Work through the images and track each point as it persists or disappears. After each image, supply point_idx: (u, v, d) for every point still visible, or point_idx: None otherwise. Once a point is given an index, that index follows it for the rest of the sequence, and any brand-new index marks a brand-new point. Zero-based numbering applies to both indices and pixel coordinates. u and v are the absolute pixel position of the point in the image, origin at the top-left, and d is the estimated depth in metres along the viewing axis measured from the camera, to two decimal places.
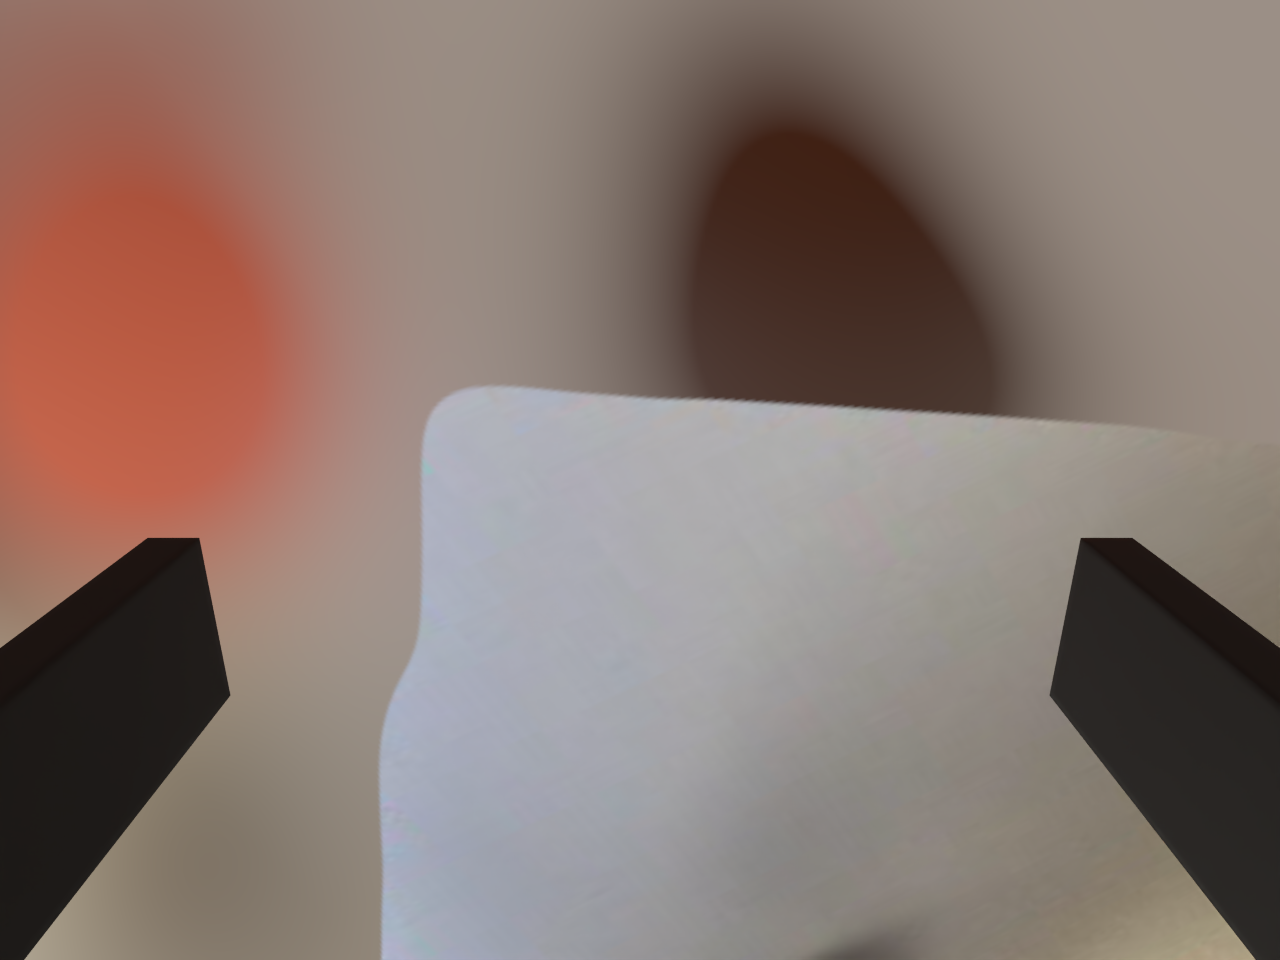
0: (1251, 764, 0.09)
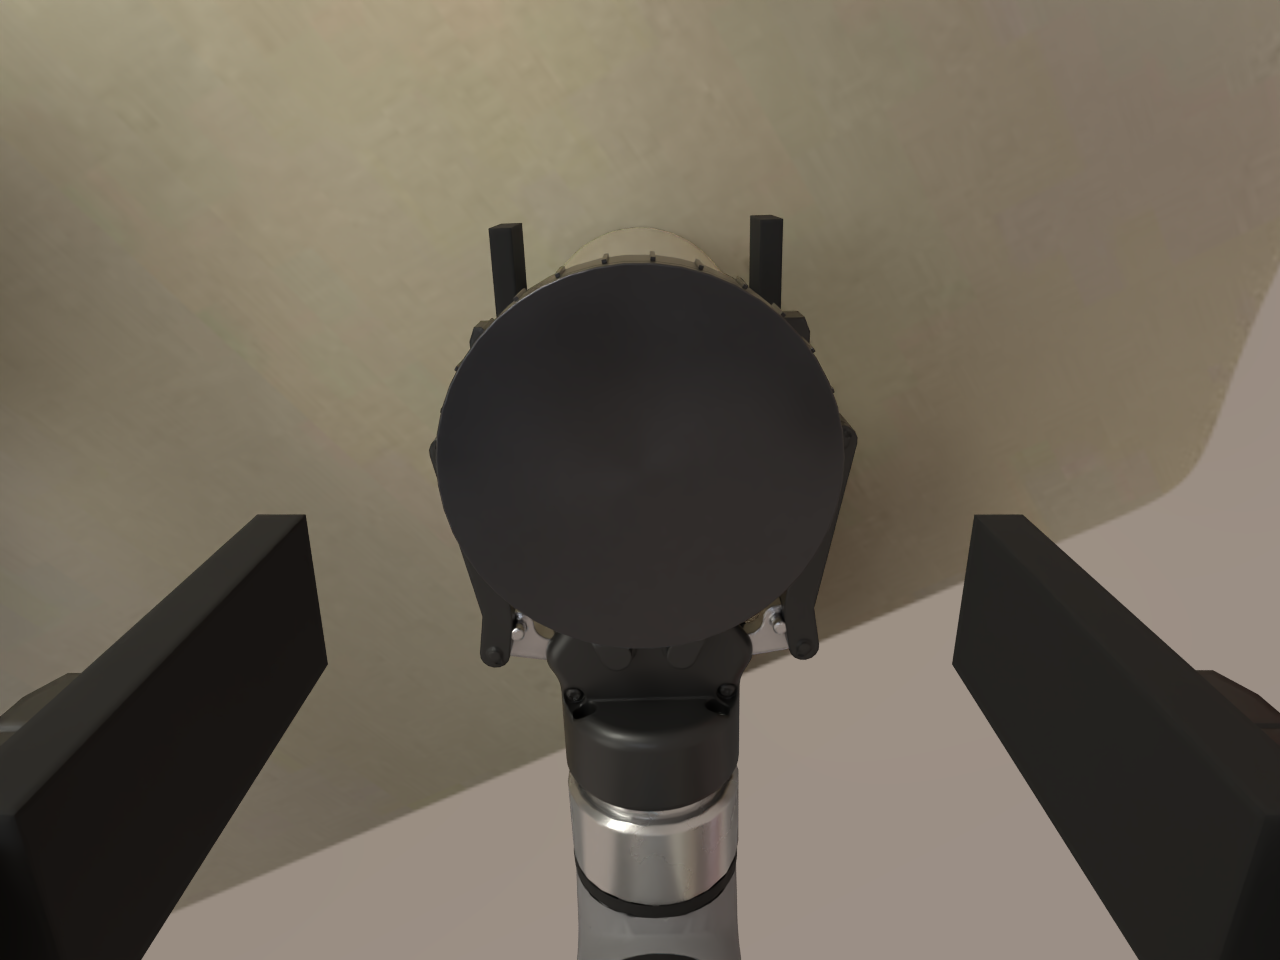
0: (1092, 713, 0.10)
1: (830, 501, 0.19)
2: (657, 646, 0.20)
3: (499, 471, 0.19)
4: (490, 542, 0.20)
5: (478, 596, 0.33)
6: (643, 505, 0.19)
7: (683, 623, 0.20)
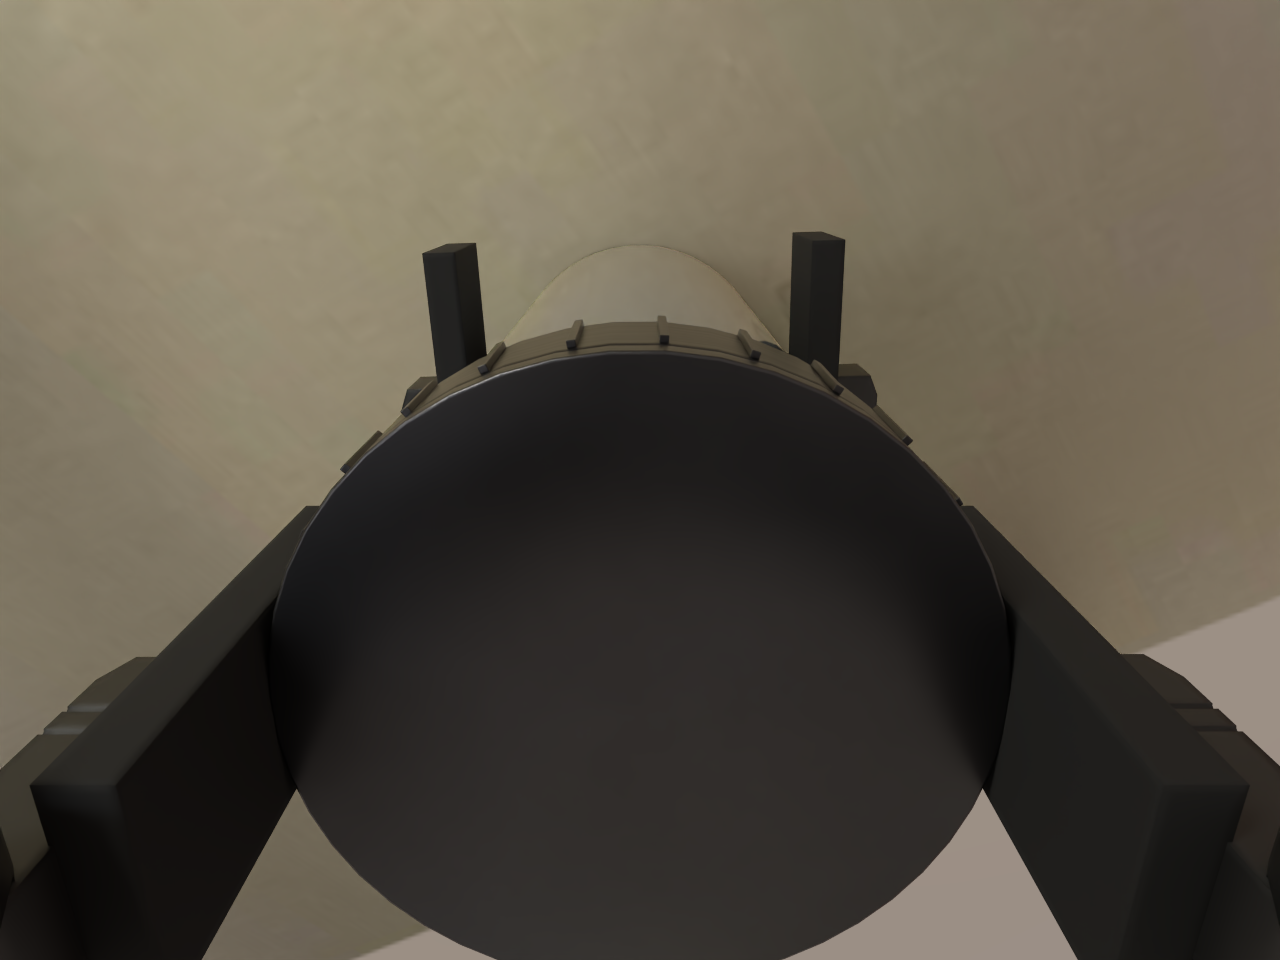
0: (1023, 695, 0.10)
1: (980, 762, 0.11)
2: None
3: (385, 715, 0.10)
4: (375, 826, 0.11)
5: None
6: (645, 768, 0.11)
7: (714, 947, 0.12)
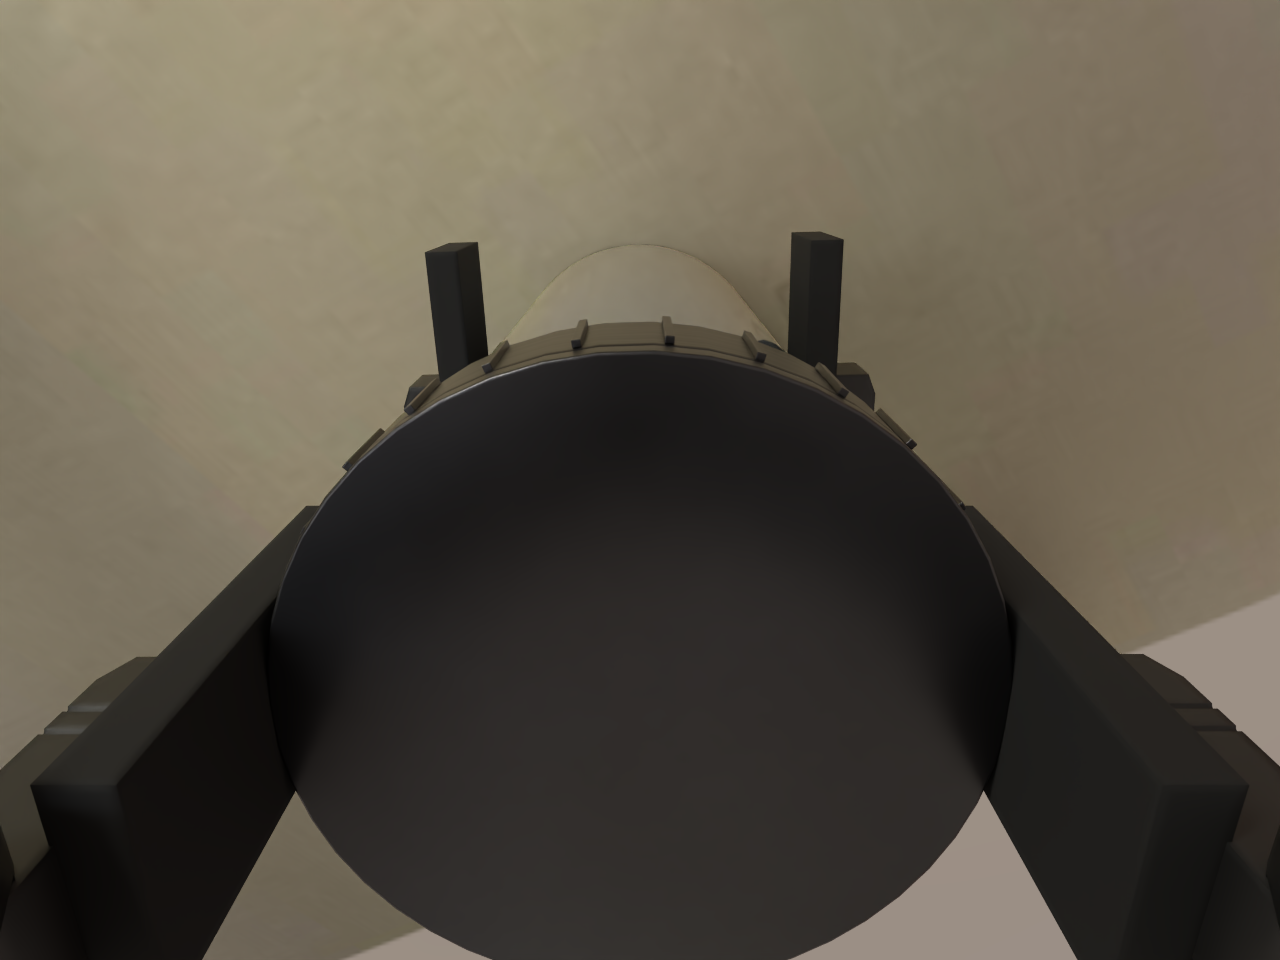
0: (1023, 694, 0.10)
1: (798, 400, 0.09)
2: (993, 760, 0.11)
3: (584, 906, 0.12)
4: (702, 944, 0.12)
5: None
6: (704, 724, 0.10)
7: (963, 709, 0.10)
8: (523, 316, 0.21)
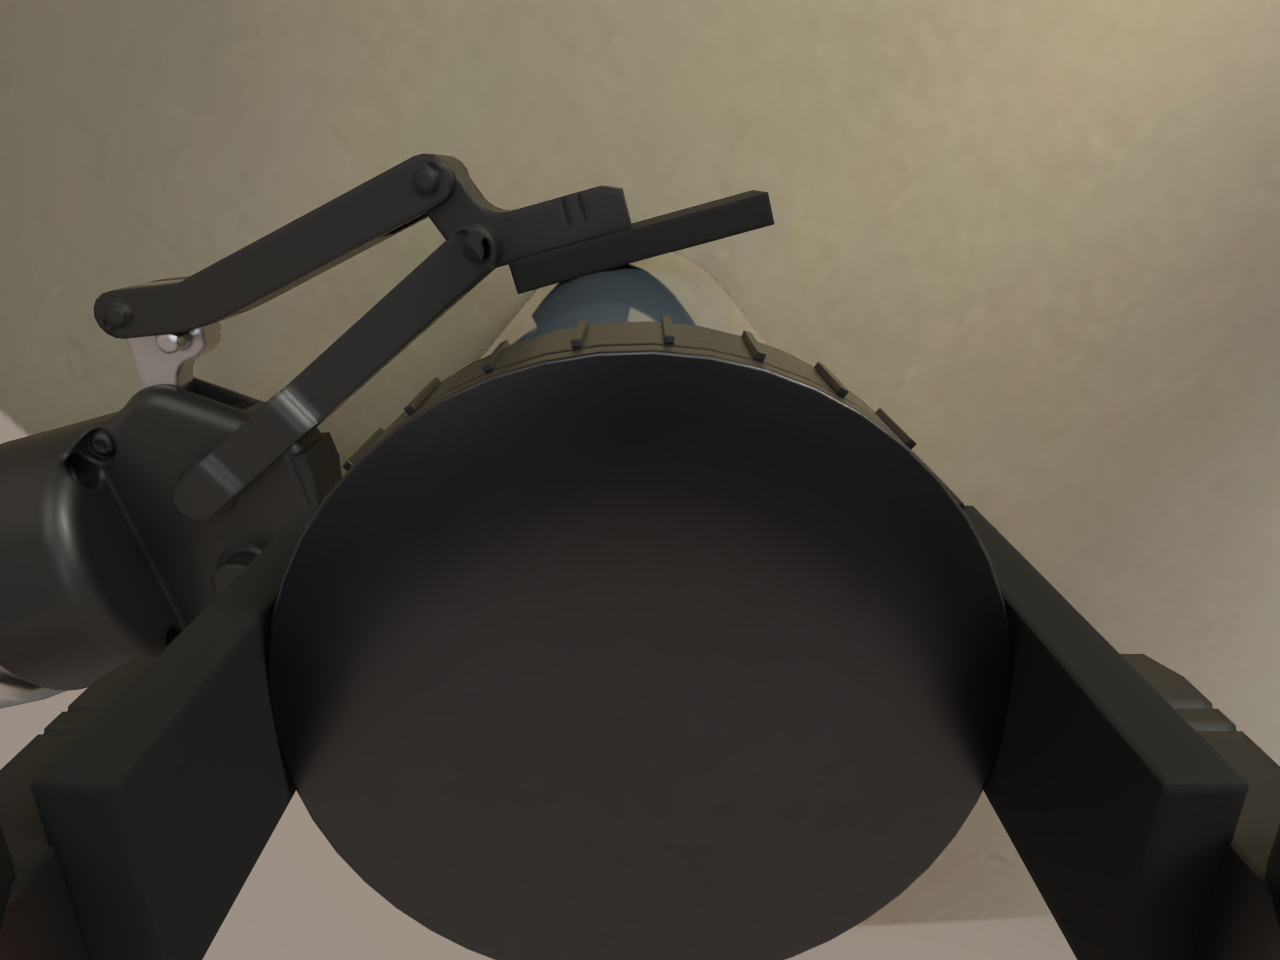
0: (1023, 694, 0.10)
1: (798, 399, 0.09)
2: (992, 759, 0.11)
3: (584, 905, 0.12)
4: (702, 943, 0.12)
5: (208, 271, 0.21)
6: (704, 723, 0.11)
7: (963, 708, 0.10)
8: (710, 286, 0.22)
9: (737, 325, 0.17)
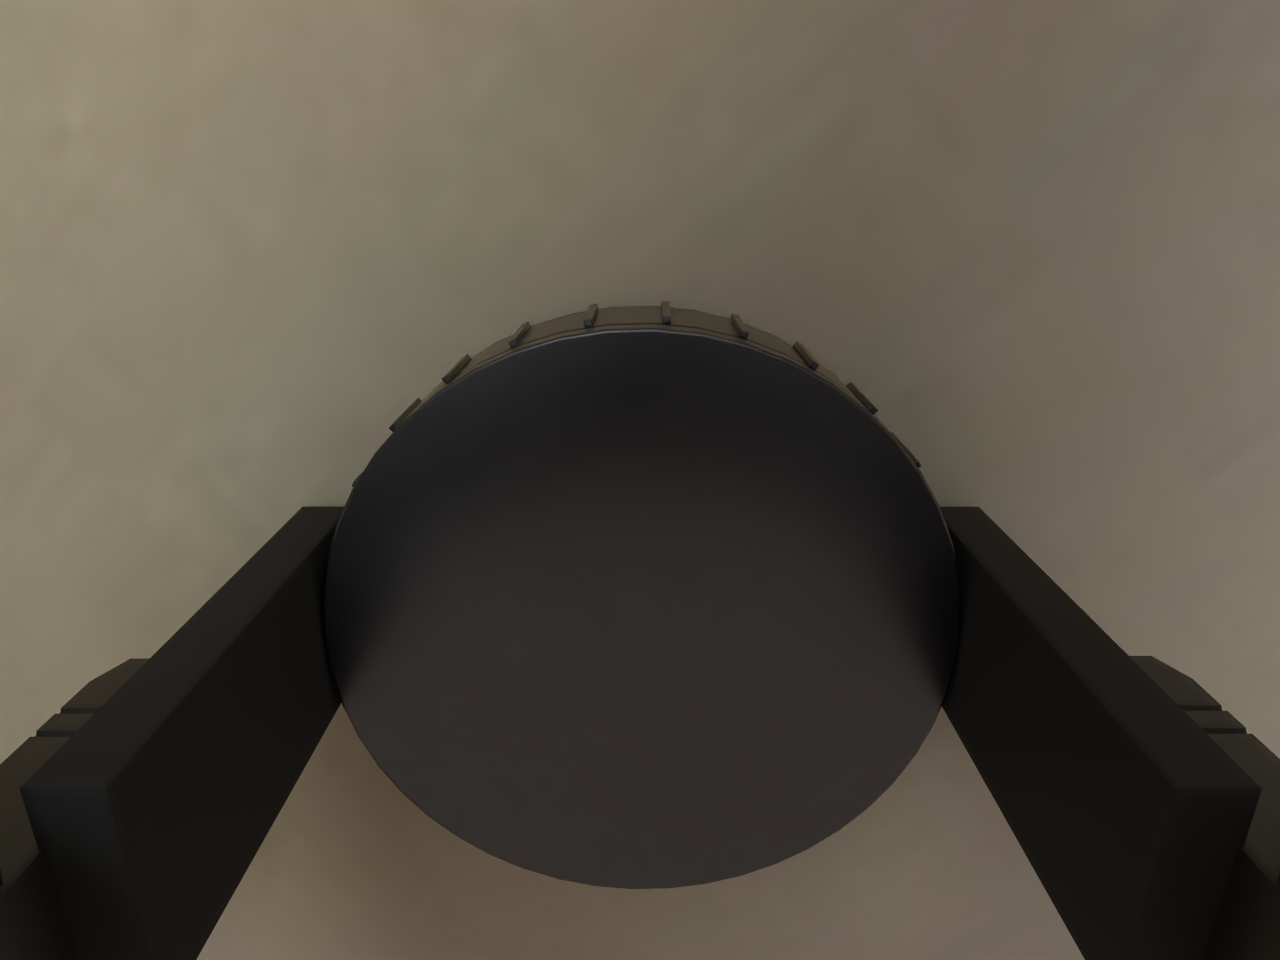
0: (1031, 696, 0.10)
1: (775, 370, 0.11)
2: (946, 685, 0.12)
3: (592, 815, 0.13)
4: (695, 851, 0.13)
5: None
6: (696, 652, 0.12)
7: (920, 640, 0.12)
8: None
9: None
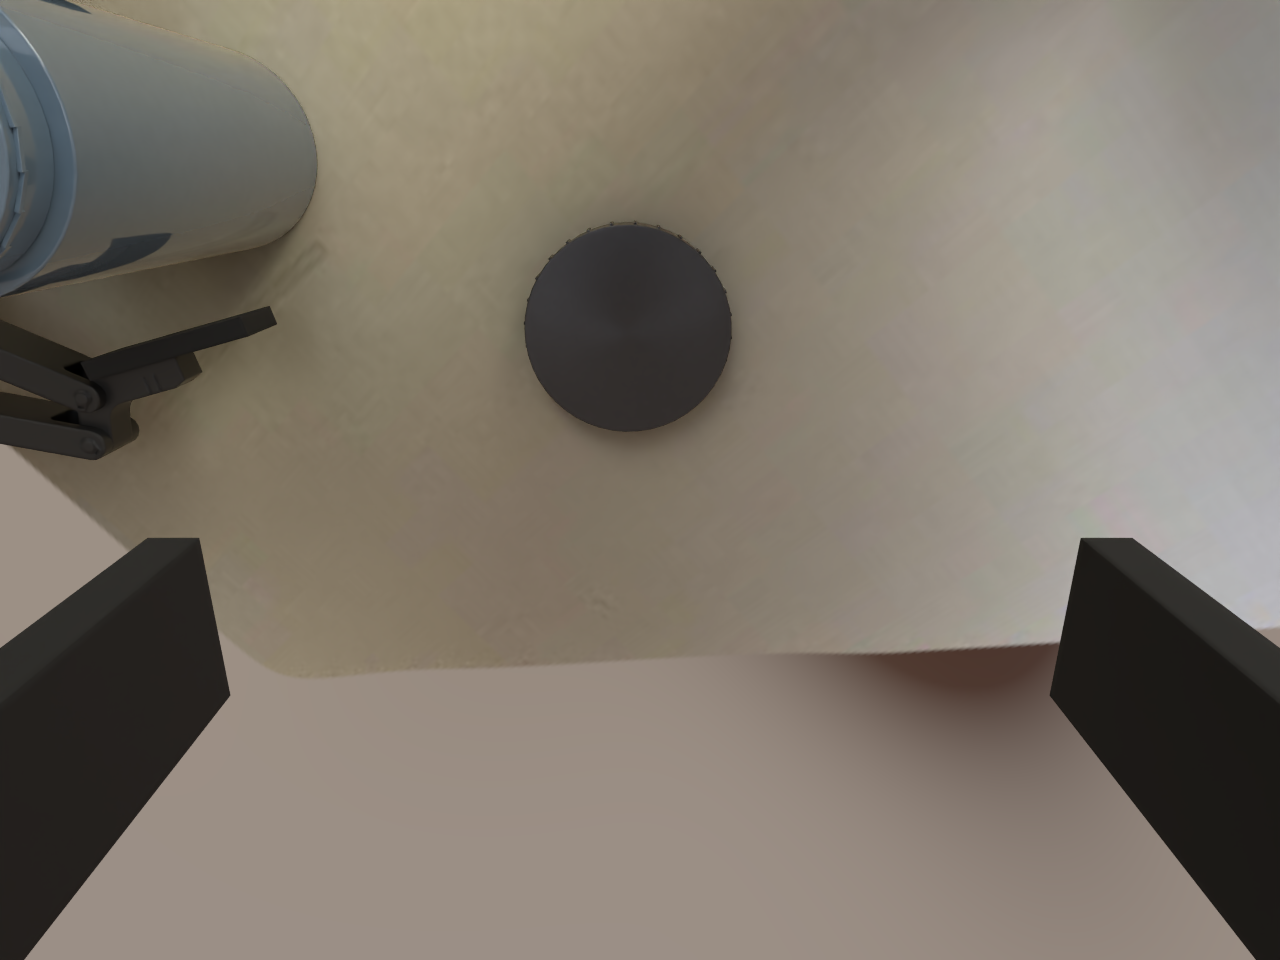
0: (1251, 764, 0.09)
1: (667, 237, 0.36)
2: (728, 346, 0.38)
3: (611, 399, 0.38)
4: (647, 414, 0.39)
5: None
6: (646, 335, 0.37)
7: (718, 330, 0.37)
8: (179, 37, 0.29)
9: (78, 8, 0.24)
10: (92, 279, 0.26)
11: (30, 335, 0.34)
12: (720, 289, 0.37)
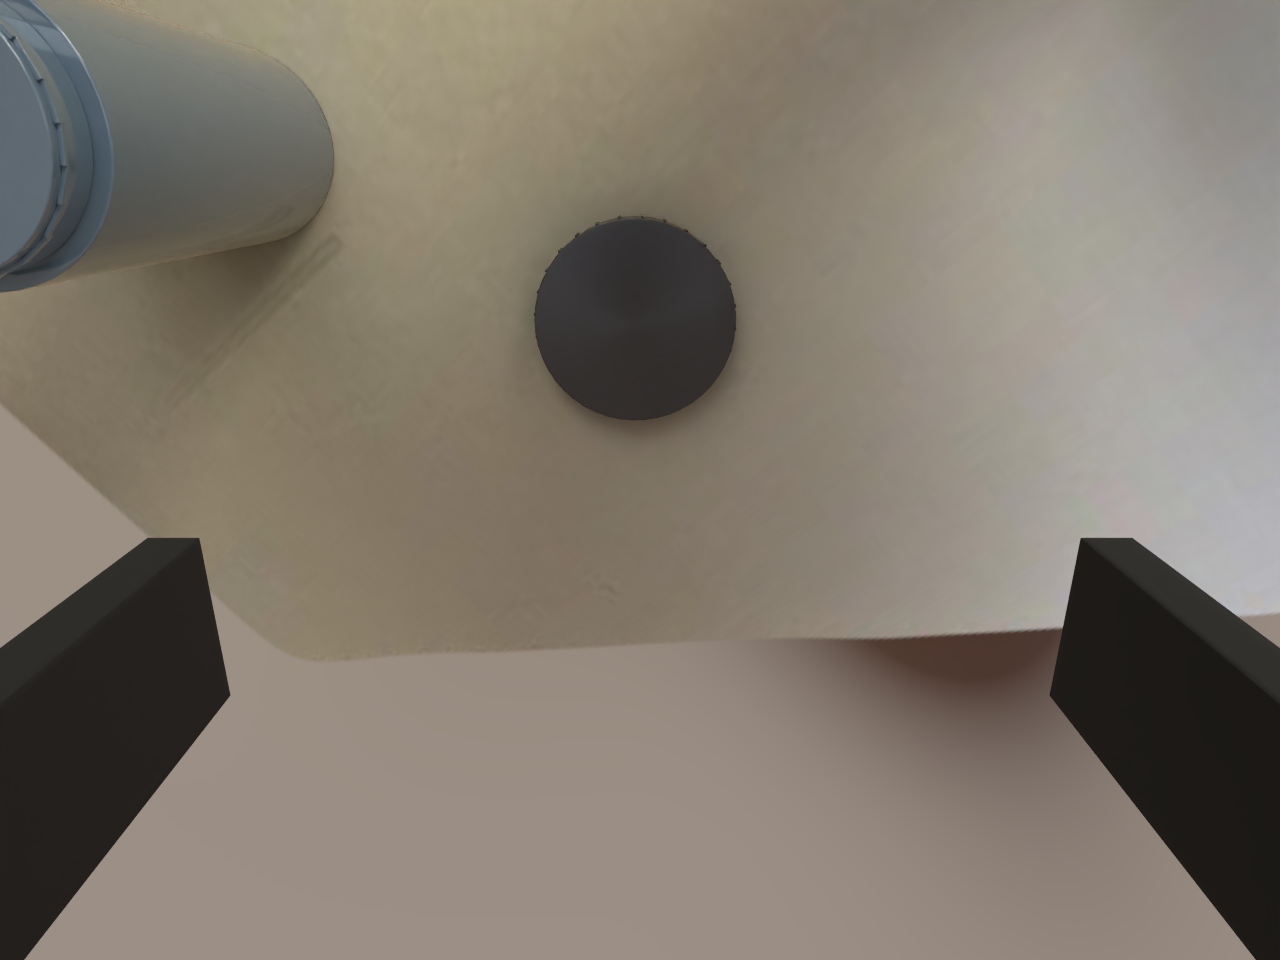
0: (1251, 764, 0.09)
1: (673, 231, 0.37)
2: (732, 337, 0.39)
3: (619, 389, 0.39)
4: (653, 403, 0.40)
5: None
6: (652, 326, 0.38)
7: (723, 321, 0.38)
8: (204, 37, 0.30)
9: (112, 9, 0.25)
10: (123, 269, 0.27)
11: None
12: (725, 281, 0.38)
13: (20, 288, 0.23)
